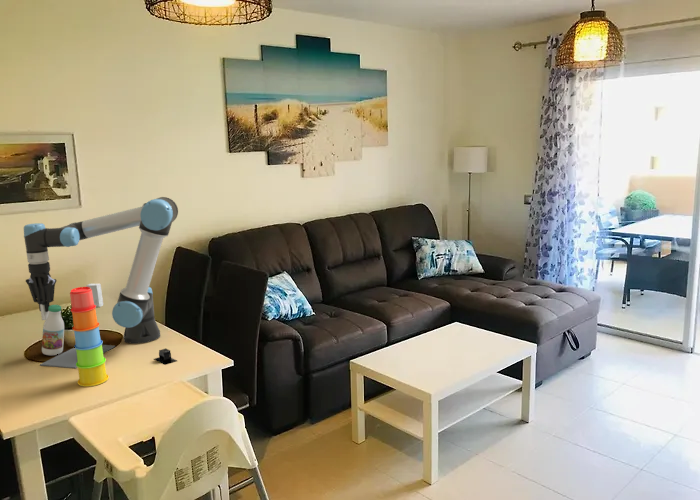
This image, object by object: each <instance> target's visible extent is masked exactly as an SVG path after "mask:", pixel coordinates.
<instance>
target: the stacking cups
mask: <svg viewBox="0 0 700 500" xmlns="http://www.w3.org/2000/svg"><path fill="white" fill-rule="evenodd" d="M69 297H70V303H71V305H70V306H71V309H70V312H71V313H72V324H73V326H72V327H71V328H72V330H73V332H74V334H73V335H74V340H75V344H74V347H75V349H76V352H77V361H78V362H77V363H76V366H77V370H78V380H77V385H79V387H84V388H85V387H88V388H89V387H96V386H99V385H102V384H104V383H106V382H107V381H108V380H109V377H110V376H109V374H107V369H106V361H107V359H106V358H107V357H104V353H103V350H102V345H103V340H102V339H101V335H100V334H101V333H100V327H99V326H100V322H98V317H97V311H96V308H97V307H96V305H94V301H93V294H92V290H91V289H90V287H86V286H79V287H75V288H72V289H71V290H70V292H69ZM74 347H73V348H74Z"/></svg>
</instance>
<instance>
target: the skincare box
mask: <svg viewBox="0 0 700 500" xmlns="http://www.w3.org/2000/svg"><path fill="white" fill-rule="evenodd" d="M85 287H90V289H91V290H92V294H93V301H94V305H96V308H101V307H103V306H104V298H103V293H102V285H101V283H88V284H86V286H85Z"/></svg>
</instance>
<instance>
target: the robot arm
mask: <svg viewBox="0 0 700 500" xmlns="http://www.w3.org/2000/svg"><path fill="white" fill-rule="evenodd" d="M178 215H179V209H178V205H177V203H176V202H175V201H174V200H173V199H172V198H169V197H166V196H161V197H157V198H154V199H151V200H148V201H147V202H145V203H142V206H139V207H135V208H130V209H126V210H122V211H118V212H114V213H109V214H106V215H101V216H98V217H94V218H89V219H86V220H83V221H78V222H72V223H69V224H67V225H64V226H61V227H53V228H47V227H46V226H45V224H44V223H42V222H41V223H29V224H25V225H24V226H23V238H24V243H25V249H26V250H25V252H26V259H27V263H28V265H27V266H28V273H29V274H30V275H29V278H27V279H25V282H26V284H27V285H28V288H29V292H30V294H31V298H32V300H33V302H34V303H37V305H38V308H39V312H40V315H41V316H40V317H41V320H42V321H45V320H46V319H47V317H48V315H49V312H48V311H49V310H48V308H49V306H50V303H52V302H54V301H55V300H54V298H55V289H56V288H55V287H56V283H57V279H56V278H52V275H51V274H50V271H51V265H50V262H49V260H50V257H49V251H48V248H60V247H61V248H63V247H66V248H69V247H77V246H78V244H79V243H80V241H83V240H87V239H91V238H95V237H98V236H103V235H106V234H111V233H115V232H119V231H123V230H128V229H132V228H135V227H138V229H139V230H140V232H141V233H140V237H139V240H138V244H137V247H136V251H135V255H134V257H133V261H132V265H131V267H130V271H129V274H128V277H127V278H128V279H127V282H126V286H125V287H124V288H121V289H120V292H119V295H118V298H117V302H116V303H115V305H114V306H113V308H112V310H111V311H112V312H111V317H112V319H113V321H114V322H115V323H116V324H117V325H118V326H120V327H122V328H125V329H124V333H123V342H125V343H127V344H145V343H150V342H154V341H157V340H158V339H159V338H160V337H161V331H160V328H159V326H158V324H157V322H156V319H155V307H154V296H153V294H154V293H153V289H152V287H150V285H151V281H152V278H153V275H154V272H155V267H156V263H157V260H158V257H159V253H160V251H161V247H162V245H163V244H162V243H163V240H164V239H165V238H166V237H168V236H169V234H170V231H171V227H172V223H174V222H175V220H176V219H177V217H178Z"/></svg>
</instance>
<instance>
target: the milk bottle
mask: <svg viewBox="0 0 700 500" xmlns="http://www.w3.org/2000/svg"><path fill="white" fill-rule="evenodd" d="M49 305H50V304H49ZM48 310H49V311H48V312H49V315H48V317H47V319H46V320H44V323H43V327H42V328H43V329H42V340H41V343H42V344H41V352H42V354H43V355H46V356H58V355H60V354H62V353H63V351H64V339H65V337H64V336H65V322H64V320H63V318H62V314H61V313H62V306H61V305H60V304H51V305H50V306H49V308H48ZM57 354H58V355H57Z"/></svg>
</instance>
